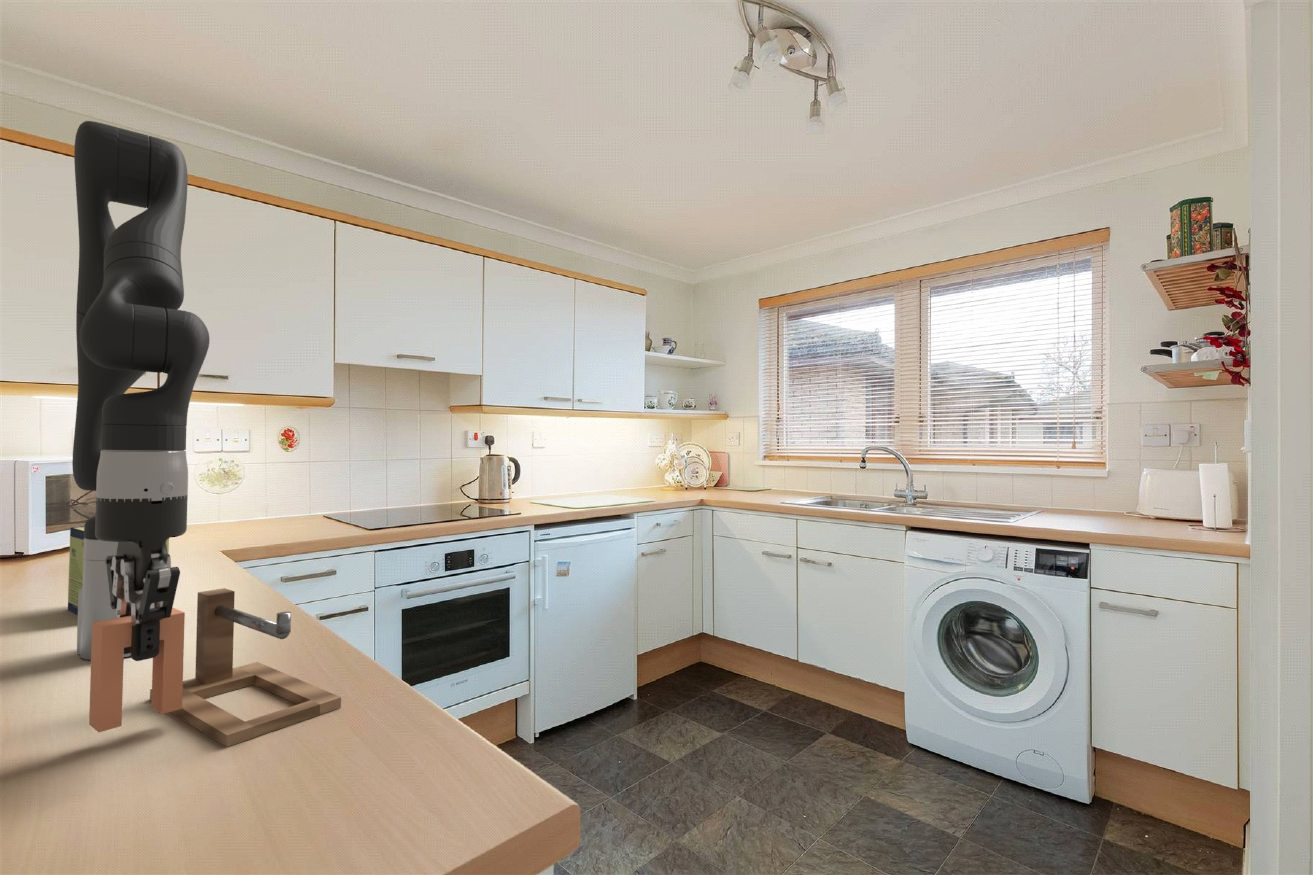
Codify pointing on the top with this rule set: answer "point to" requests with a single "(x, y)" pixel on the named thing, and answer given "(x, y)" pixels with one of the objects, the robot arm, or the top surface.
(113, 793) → the top surface
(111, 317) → the robot arm
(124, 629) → the salmon wooden arch
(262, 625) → the hook arm
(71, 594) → the protein box
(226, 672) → the wooden hook stand
